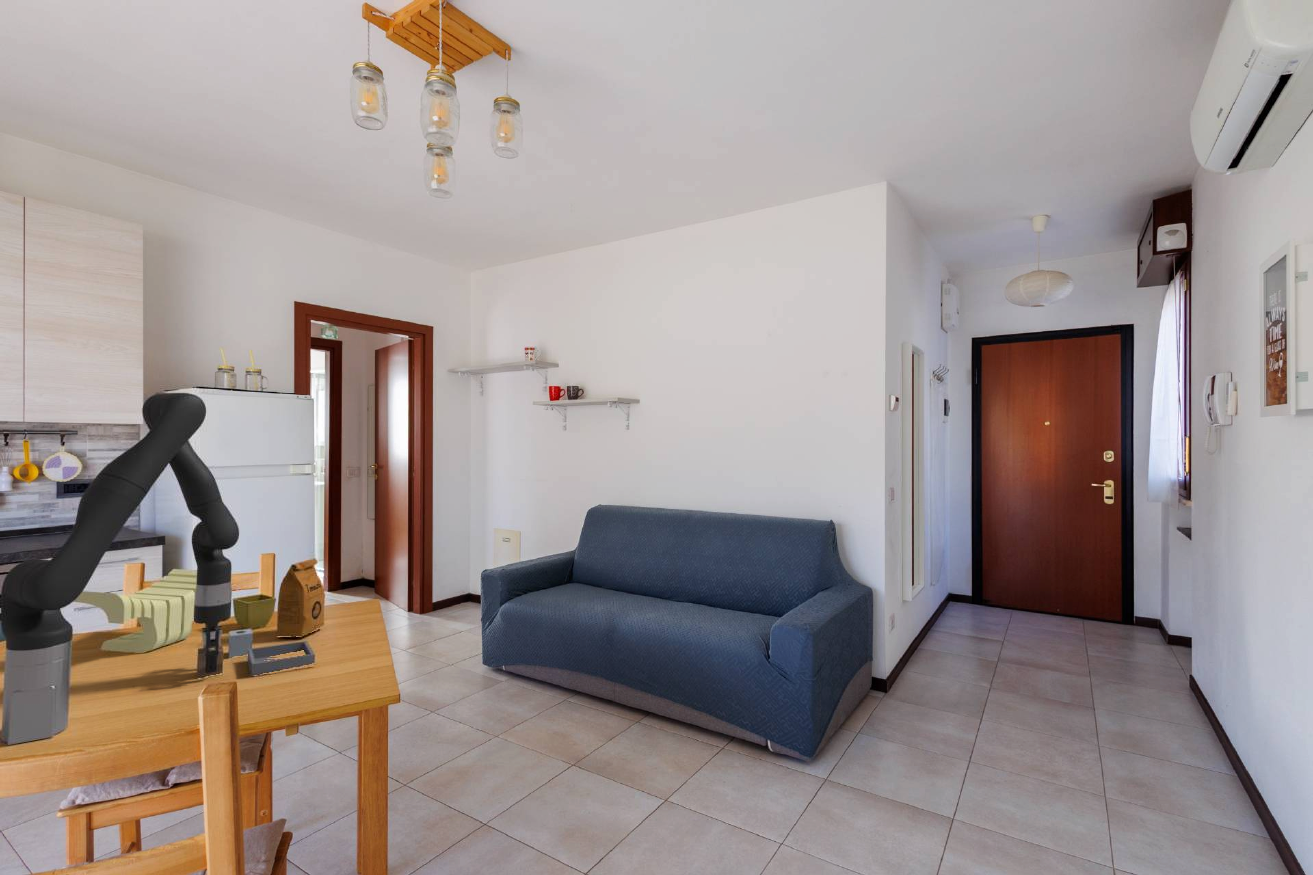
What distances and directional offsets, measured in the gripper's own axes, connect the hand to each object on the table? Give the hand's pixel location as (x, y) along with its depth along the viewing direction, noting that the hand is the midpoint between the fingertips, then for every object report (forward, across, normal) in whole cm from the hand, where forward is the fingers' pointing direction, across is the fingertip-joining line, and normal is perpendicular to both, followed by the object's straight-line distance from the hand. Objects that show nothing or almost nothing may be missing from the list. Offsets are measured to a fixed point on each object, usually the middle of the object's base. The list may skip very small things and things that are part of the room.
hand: (210, 666), depth 154 cm
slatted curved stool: (+2, +35, +13) cm, 37 cm away
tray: (+2, -1, -15) cm, 15 cm away
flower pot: (+2, +40, -12) cm, 42 cm away
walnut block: (+2, 0, 0) cm, 2 cm away
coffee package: (+2, +25, -23) cm, 34 cm away
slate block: (+2, +13, -7) cm, 15 cm away
